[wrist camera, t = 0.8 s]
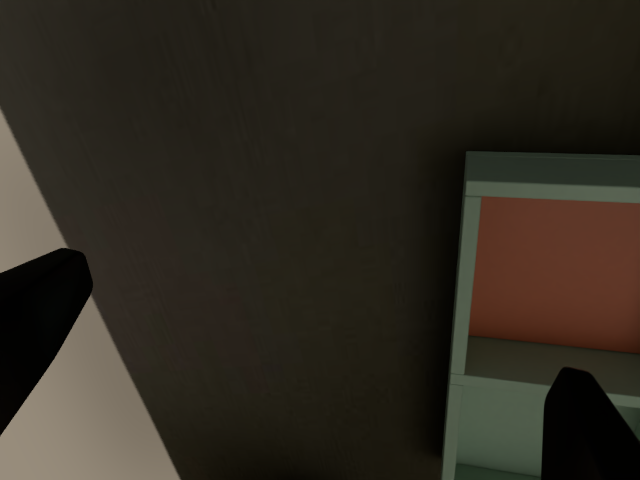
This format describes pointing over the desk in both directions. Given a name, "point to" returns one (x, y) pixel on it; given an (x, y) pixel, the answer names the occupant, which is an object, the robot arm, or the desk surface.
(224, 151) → the desk surface
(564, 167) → the divided box
